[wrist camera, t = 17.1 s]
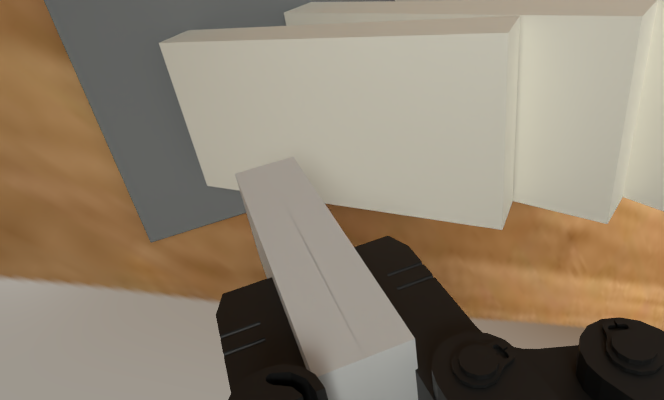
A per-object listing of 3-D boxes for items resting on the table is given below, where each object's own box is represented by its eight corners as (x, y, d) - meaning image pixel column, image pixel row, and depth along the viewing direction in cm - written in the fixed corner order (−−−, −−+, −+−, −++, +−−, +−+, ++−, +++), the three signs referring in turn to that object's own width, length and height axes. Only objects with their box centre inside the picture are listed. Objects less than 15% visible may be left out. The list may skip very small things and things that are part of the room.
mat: (150, 236, 23) (150, 242, 22) (39, -18, 17) (36, -17, 17) (626, 88, 28) (634, 90, 28) (665, -144, 22) (674, -145, 22)
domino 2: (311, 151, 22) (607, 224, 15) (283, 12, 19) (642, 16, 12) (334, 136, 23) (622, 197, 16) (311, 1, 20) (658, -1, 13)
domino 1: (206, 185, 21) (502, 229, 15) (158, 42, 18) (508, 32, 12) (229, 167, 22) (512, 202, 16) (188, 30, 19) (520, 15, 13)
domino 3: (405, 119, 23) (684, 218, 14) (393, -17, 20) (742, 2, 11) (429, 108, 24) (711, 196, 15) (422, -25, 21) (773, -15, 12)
